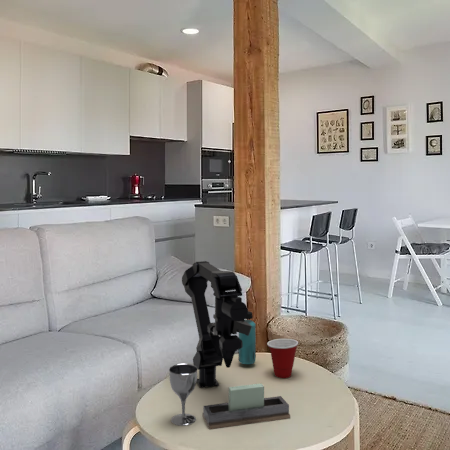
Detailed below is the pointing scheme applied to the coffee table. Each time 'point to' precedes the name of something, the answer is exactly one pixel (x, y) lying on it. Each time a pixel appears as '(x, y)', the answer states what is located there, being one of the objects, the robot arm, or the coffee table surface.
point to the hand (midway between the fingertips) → (224, 361)
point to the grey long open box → (245, 413)
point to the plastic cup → (283, 356)
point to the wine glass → (183, 389)
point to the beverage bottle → (248, 343)
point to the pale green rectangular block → (246, 396)
